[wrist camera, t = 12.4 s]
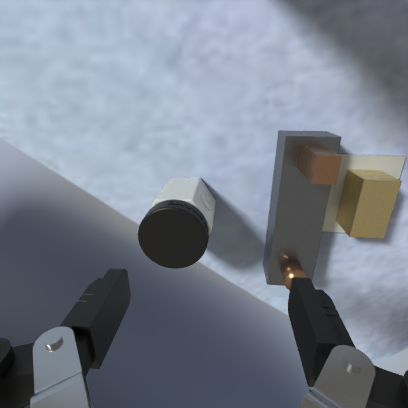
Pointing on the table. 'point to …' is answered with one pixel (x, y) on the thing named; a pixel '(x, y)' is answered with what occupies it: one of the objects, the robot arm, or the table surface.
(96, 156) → the table surface
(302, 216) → the body
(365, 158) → the felt mat
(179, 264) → the jar
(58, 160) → the table surface
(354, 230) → the lever cap
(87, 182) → the table surface
